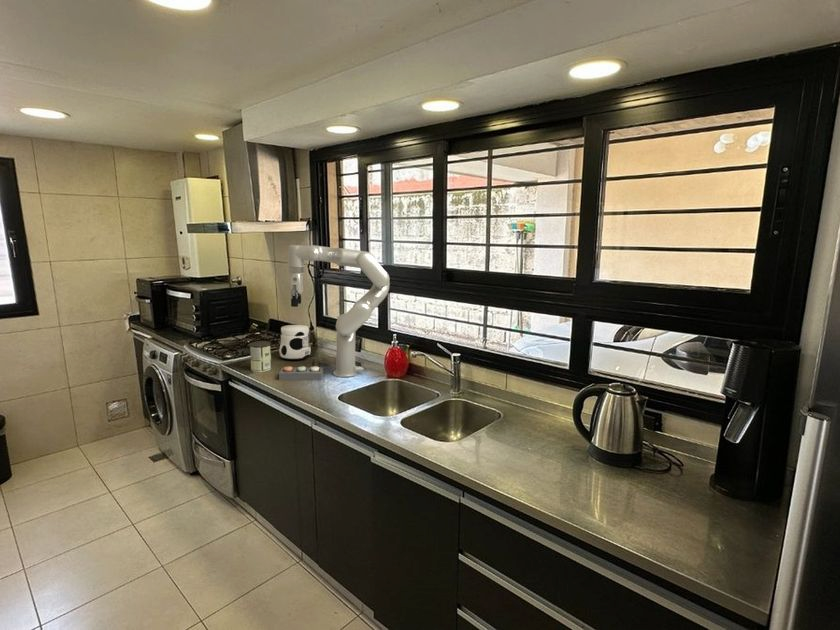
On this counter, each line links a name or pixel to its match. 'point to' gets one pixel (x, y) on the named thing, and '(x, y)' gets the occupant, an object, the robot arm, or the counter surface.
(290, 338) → the milk container
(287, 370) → the terracotta button
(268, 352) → the coffee can
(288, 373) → the button panel
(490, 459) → the counter surface
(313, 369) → the cream button
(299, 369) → the green button
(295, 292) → the robot arm
